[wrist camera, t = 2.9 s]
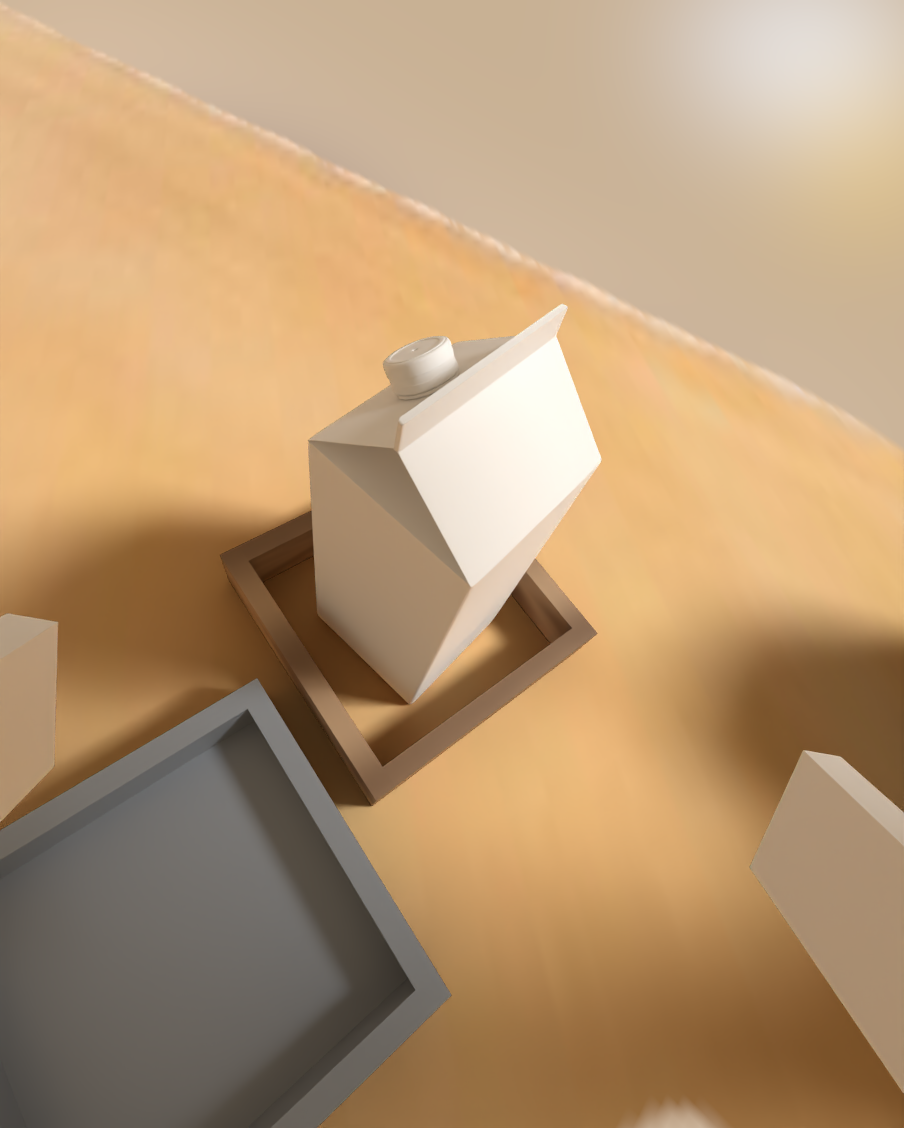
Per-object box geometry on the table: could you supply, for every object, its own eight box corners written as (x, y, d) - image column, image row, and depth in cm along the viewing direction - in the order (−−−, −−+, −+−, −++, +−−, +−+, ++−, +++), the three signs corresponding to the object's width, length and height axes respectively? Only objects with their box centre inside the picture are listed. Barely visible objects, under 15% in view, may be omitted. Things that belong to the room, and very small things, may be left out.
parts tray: (438, 980, 25) (451, 995, 22) (70, 1333, 19) (28, 1411, 16) (263, 694, 29) (257, 677, 26) (-86, 907, 23) (-141, 913, 20)
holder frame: (576, 651, 33) (597, 633, 30) (371, 806, 27) (376, 800, 25) (434, 476, 37) (442, 447, 34) (229, 580, 31) (219, 554, 28)
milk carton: (494, 618, 33) (661, 375, 16) (409, 707, 30) (510, 516, 13) (406, 538, 34) (477, 238, 18) (315, 615, 31) (299, 336, 14)
